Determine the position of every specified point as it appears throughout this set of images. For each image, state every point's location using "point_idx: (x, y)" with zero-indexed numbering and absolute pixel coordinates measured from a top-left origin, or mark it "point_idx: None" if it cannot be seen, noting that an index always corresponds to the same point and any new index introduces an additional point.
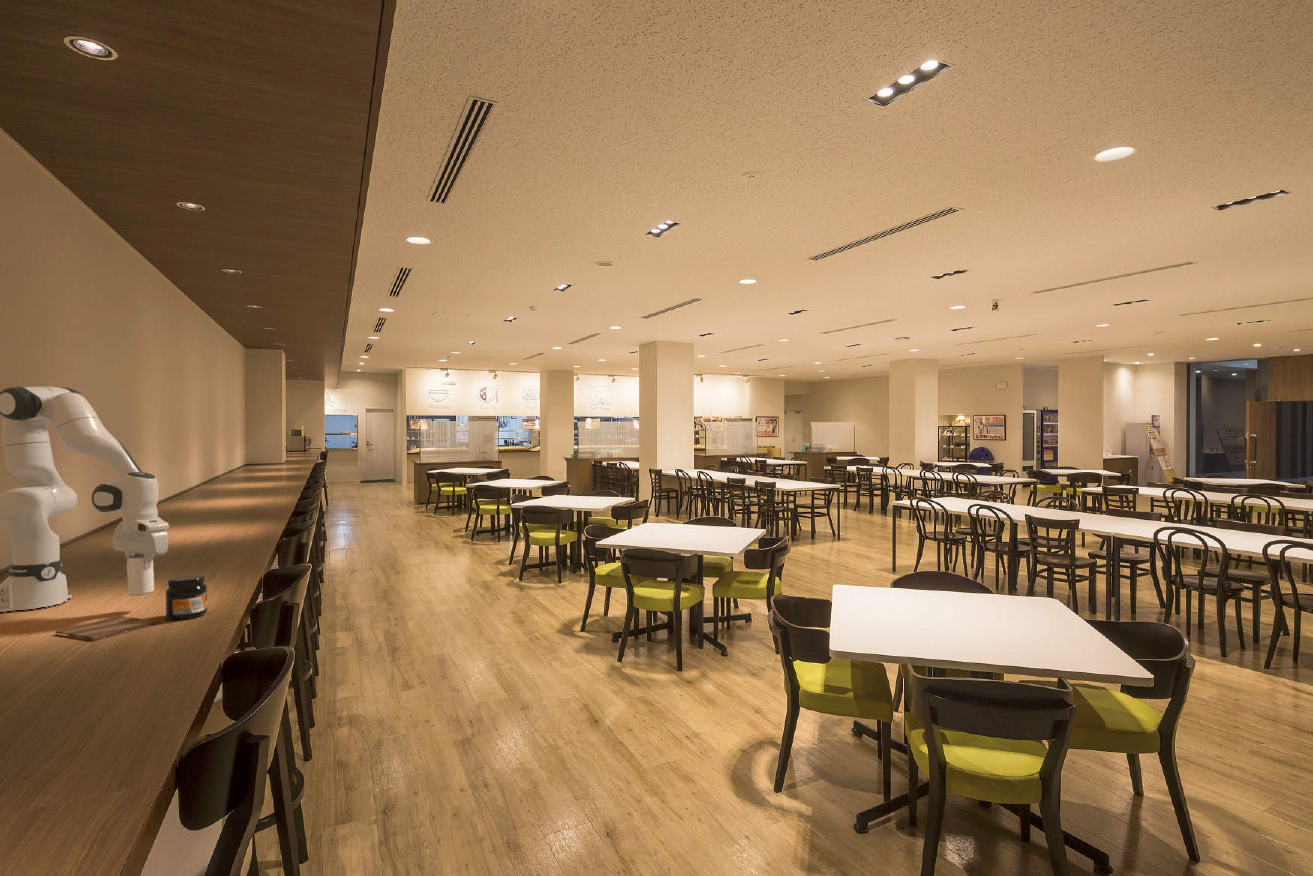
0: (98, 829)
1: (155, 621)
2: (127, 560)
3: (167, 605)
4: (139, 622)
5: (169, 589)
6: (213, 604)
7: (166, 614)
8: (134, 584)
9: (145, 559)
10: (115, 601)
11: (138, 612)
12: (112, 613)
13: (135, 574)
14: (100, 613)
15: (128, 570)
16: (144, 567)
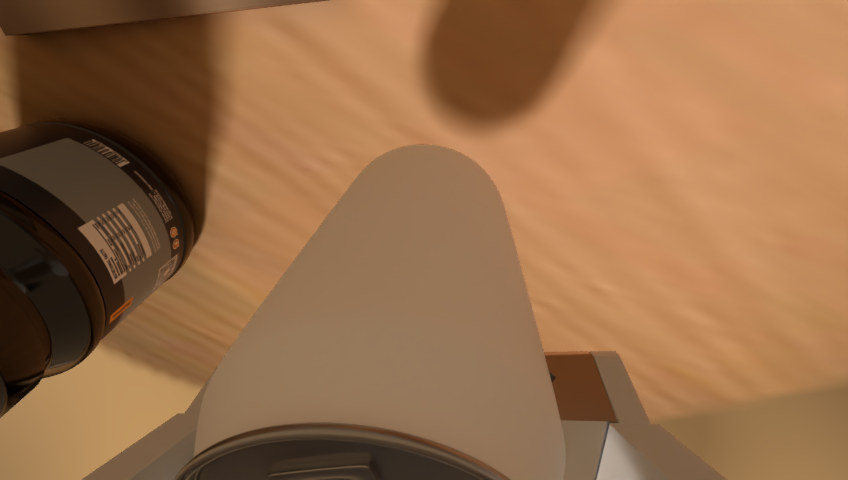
0: None
1: (5, 31)
2: (650, 424)
3: (3, 139)
4: None
5: None
6: None
7: (71, 124)
8: (357, 184)
9: (122, 474)
10: (796, 227)
11: (407, 143)
12: (535, 59)
13: (313, 238)
14: (618, 21)
15: (397, 237)
16: None
